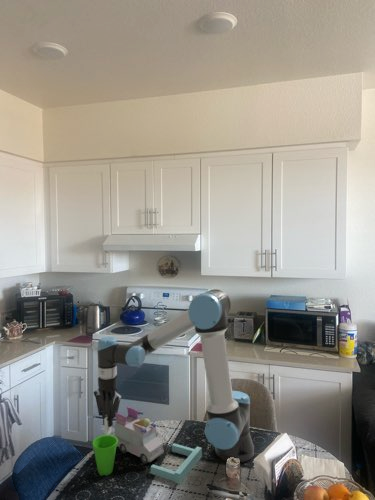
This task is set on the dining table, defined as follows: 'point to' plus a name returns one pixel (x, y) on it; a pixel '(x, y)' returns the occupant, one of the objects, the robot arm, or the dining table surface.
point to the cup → (105, 453)
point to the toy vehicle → (137, 436)
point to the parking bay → (185, 468)
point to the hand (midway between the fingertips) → (108, 433)
